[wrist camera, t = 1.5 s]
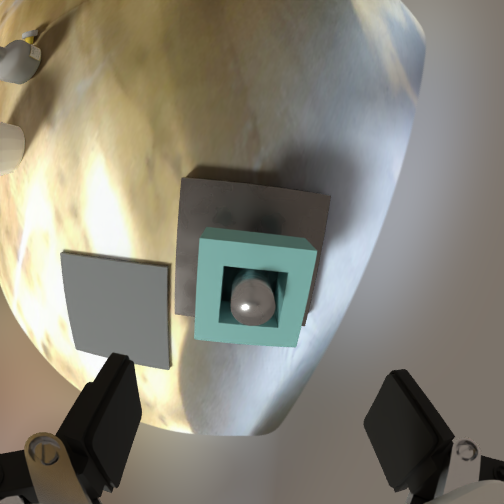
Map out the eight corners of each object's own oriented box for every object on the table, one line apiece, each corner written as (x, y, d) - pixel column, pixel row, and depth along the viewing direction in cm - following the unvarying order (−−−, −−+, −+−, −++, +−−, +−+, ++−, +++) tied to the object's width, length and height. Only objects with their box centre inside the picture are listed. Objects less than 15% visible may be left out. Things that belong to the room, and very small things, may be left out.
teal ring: (206, 226, 17) (199, 238, 15) (305, 238, 18) (317, 251, 15) (200, 315, 19) (194, 339, 16) (288, 323, 20) (296, 347, 17)
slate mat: (62, 252, 23) (60, 253, 23) (168, 266, 24) (167, 267, 24) (77, 347, 27) (76, 349, 26) (169, 367, 28) (169, 370, 27)
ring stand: (185, 177, 22) (146, 182, 13) (325, 194, 23) (379, 211, 13) (178, 306, 25) (150, 375, 16) (301, 318, 26) (329, 387, 17)
